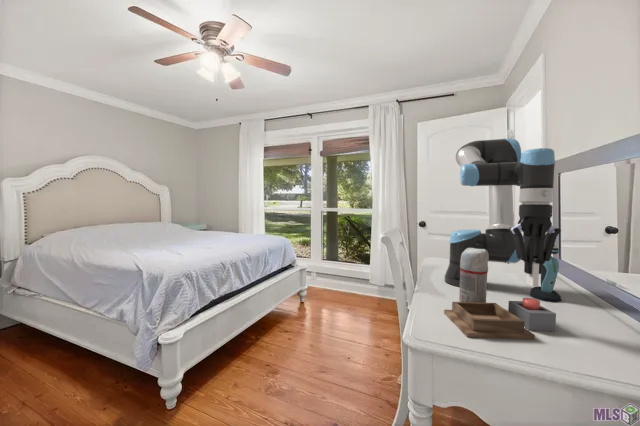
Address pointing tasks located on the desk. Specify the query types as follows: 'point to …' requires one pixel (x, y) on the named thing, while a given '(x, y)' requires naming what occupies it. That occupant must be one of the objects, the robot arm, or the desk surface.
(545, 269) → the teal power drill
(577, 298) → the desk surface
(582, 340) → the desk surface
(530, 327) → the control box
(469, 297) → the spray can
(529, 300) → the button
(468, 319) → the walnut tray
